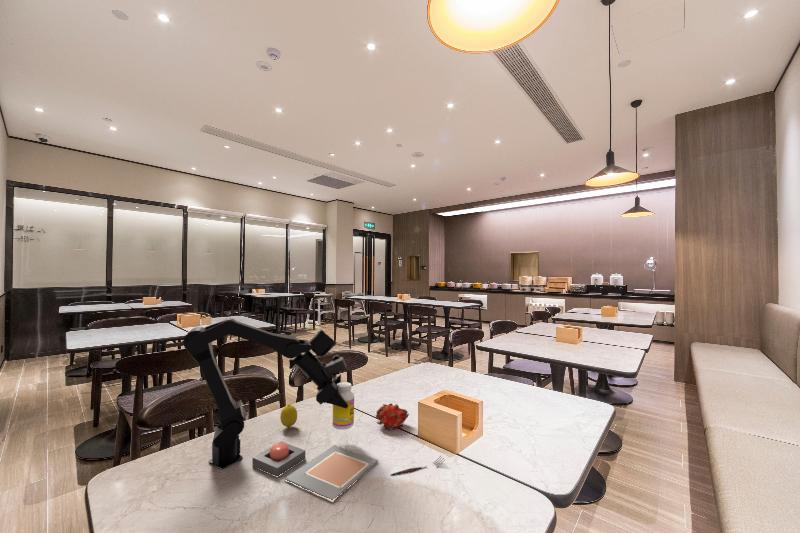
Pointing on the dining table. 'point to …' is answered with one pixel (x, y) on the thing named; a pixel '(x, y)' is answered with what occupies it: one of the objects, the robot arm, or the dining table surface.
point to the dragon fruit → (391, 416)
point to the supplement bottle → (344, 416)
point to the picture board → (332, 471)
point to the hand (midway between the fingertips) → (348, 402)
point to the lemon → (288, 415)
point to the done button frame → (279, 467)
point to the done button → (279, 451)
